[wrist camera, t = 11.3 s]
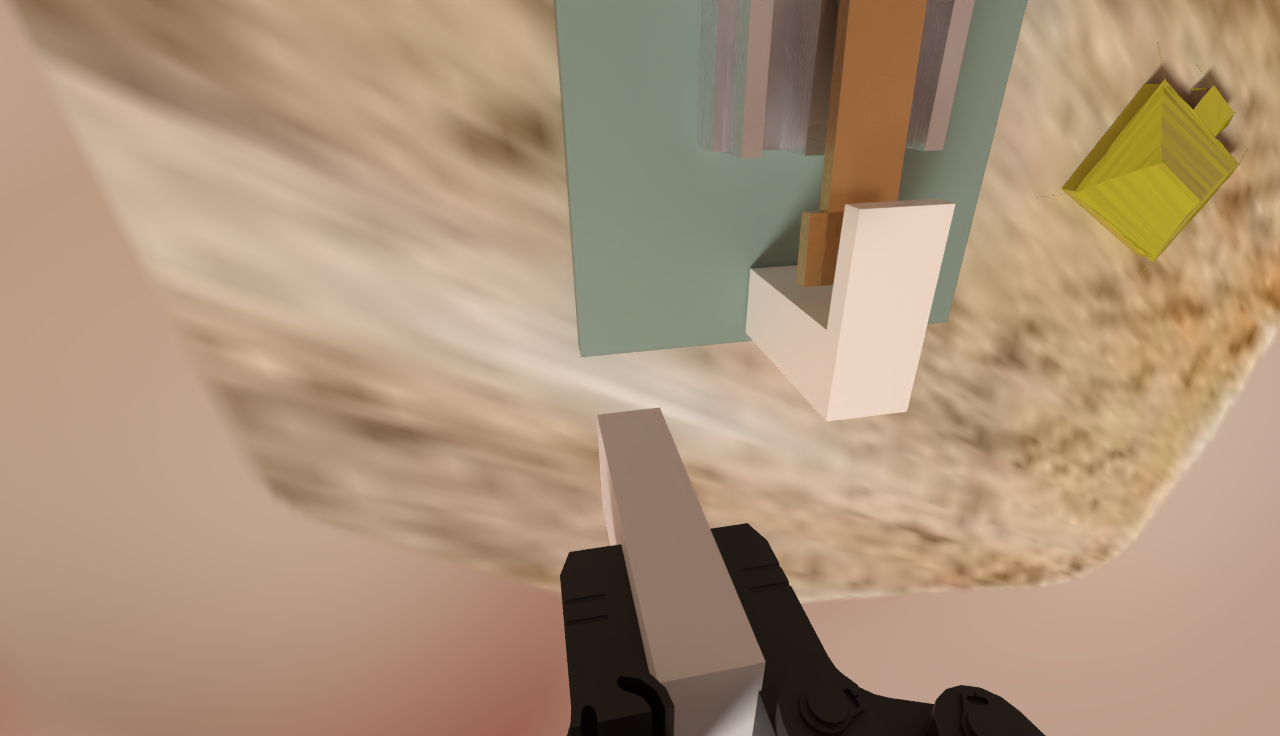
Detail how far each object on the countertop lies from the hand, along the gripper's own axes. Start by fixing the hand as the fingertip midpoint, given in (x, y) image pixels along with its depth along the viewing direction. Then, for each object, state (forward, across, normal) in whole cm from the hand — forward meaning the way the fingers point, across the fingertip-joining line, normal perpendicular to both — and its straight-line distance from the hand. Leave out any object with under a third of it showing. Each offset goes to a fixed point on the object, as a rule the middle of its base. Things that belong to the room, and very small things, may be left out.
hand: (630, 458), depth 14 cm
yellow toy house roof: (+14, +28, +4) cm, 31 cm away
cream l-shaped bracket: (+11, +9, +1) cm, 14 cm away
